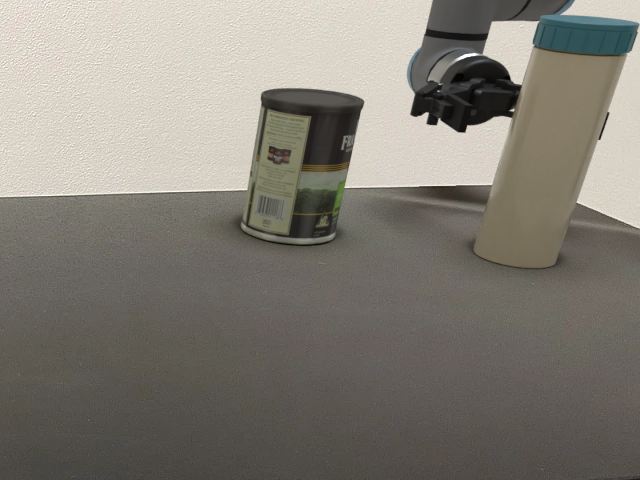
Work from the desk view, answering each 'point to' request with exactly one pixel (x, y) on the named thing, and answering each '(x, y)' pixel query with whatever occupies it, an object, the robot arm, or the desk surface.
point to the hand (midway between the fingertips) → (533, 122)
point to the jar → (546, 155)
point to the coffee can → (300, 164)
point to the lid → (585, 34)
